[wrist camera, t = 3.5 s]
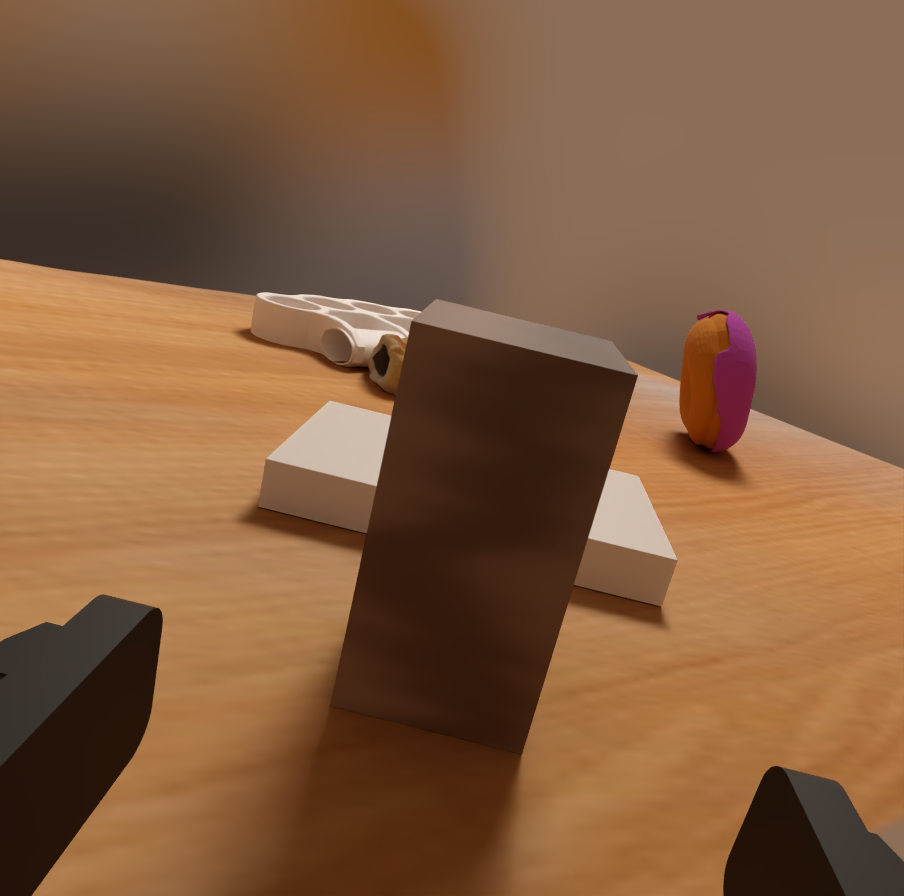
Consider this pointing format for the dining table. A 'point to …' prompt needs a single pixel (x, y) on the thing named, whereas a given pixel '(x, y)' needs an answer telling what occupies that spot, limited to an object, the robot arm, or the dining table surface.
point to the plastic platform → (355, 480)
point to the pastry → (387, 362)
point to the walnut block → (479, 521)
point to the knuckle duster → (328, 325)
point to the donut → (717, 379)
